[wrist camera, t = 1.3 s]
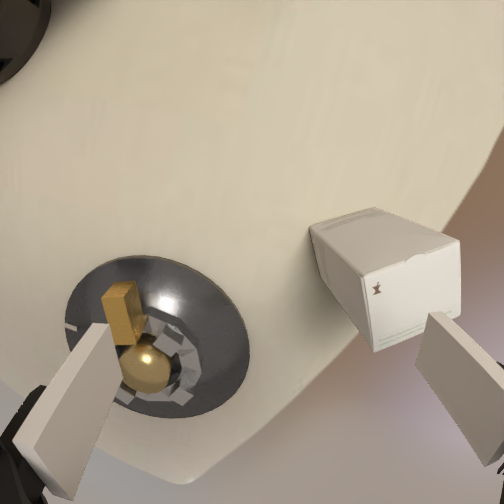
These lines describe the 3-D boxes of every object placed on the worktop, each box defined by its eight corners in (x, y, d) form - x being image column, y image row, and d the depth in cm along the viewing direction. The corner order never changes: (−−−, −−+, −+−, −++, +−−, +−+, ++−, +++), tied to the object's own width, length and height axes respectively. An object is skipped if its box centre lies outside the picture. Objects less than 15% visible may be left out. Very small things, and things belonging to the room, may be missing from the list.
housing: (59, 370, 39) (44, 393, 34) (90, 221, 33) (67, 233, 27) (207, 432, 43) (205, 459, 37) (284, 306, 37) (291, 331, 31)
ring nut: (209, 390, 38) (205, 423, 33) (119, 390, 38) (106, 419, 32) (186, 269, 33) (176, 293, 28) (82, 277, 33) (58, 300, 28)
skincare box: (319, 277, 36) (367, 358, 21) (306, 221, 34) (356, 276, 19) (386, 256, 35) (462, 319, 20) (377, 201, 33) (463, 239, 18)
